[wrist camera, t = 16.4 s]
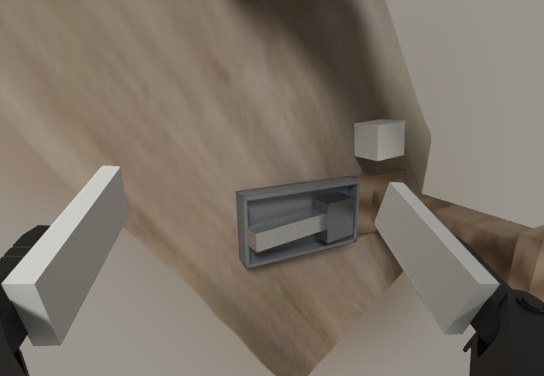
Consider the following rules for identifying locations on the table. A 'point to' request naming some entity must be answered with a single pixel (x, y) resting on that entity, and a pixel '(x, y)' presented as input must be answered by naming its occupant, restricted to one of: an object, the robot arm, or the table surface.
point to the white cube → (379, 139)
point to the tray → (282, 203)
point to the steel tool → (307, 223)
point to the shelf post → (469, 232)
